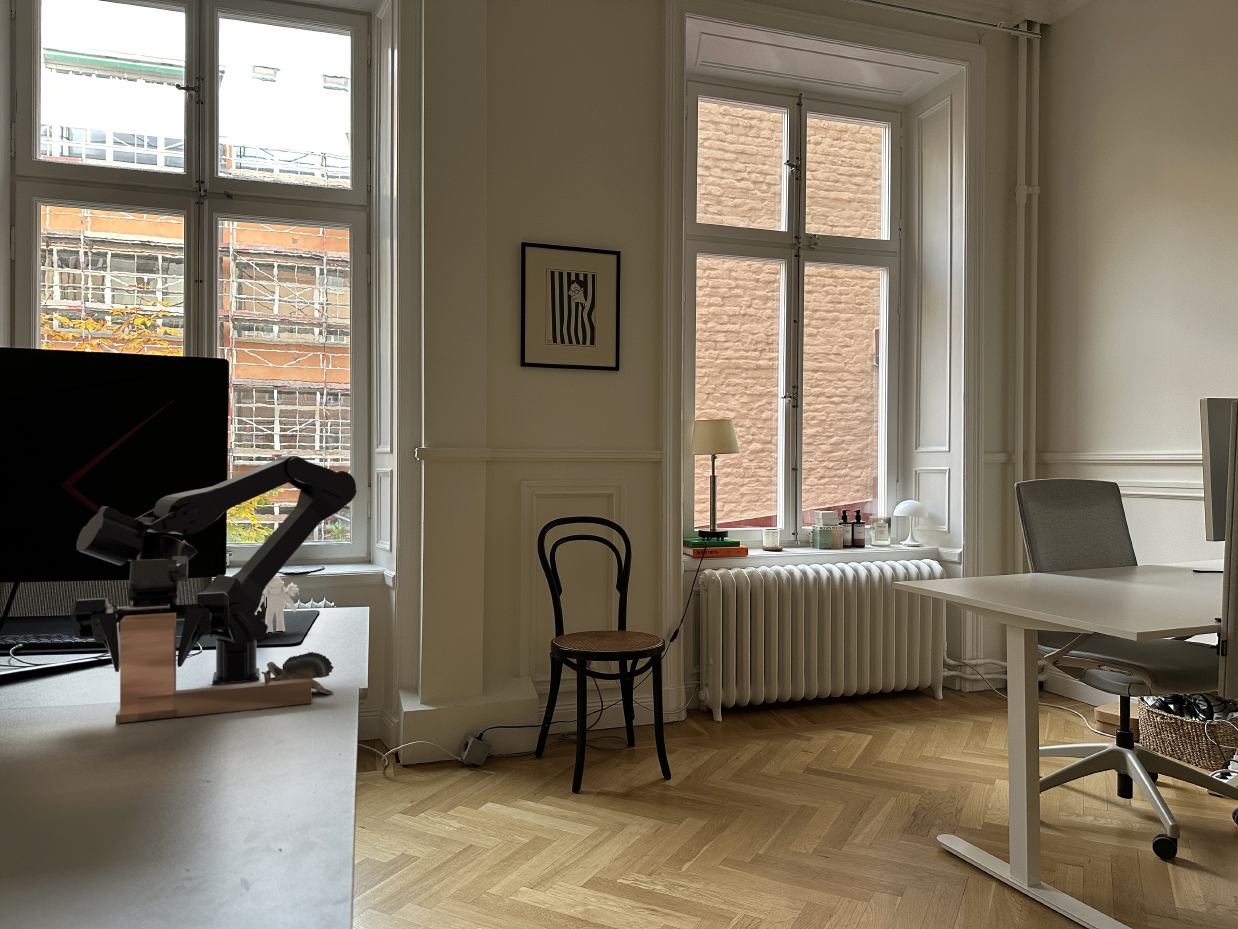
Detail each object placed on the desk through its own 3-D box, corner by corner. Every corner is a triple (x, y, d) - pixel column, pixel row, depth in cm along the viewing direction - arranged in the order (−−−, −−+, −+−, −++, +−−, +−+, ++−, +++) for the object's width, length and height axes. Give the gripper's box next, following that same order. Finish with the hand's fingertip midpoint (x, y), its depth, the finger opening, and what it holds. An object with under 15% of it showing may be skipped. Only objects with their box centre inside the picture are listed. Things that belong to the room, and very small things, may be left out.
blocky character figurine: (250, 635, 164) (250, 573, 164) (249, 631, 168) (250, 571, 168) (299, 631, 168) (299, 571, 168) (298, 627, 172) (298, 569, 172)
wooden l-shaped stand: (127, 702, 116) (127, 609, 116) (308, 685, 125) (308, 598, 125) (115, 723, 107) (115, 621, 107) (311, 703, 116) (311, 609, 116)
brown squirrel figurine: (270, 702, 113) (338, 681, 118) (258, 653, 116) (324, 635, 121) (270, 719, 119) (335, 699, 124) (258, 672, 122) (322, 654, 127)
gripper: (73, 538, 111) (54, 637, 101) (228, 534, 118) (225, 626, 108) (84, 590, 118) (67, 687, 108) (230, 583, 126) (227, 673, 115)
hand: (148, 667), depth 110 cm, fingers open, 7 cm apart
